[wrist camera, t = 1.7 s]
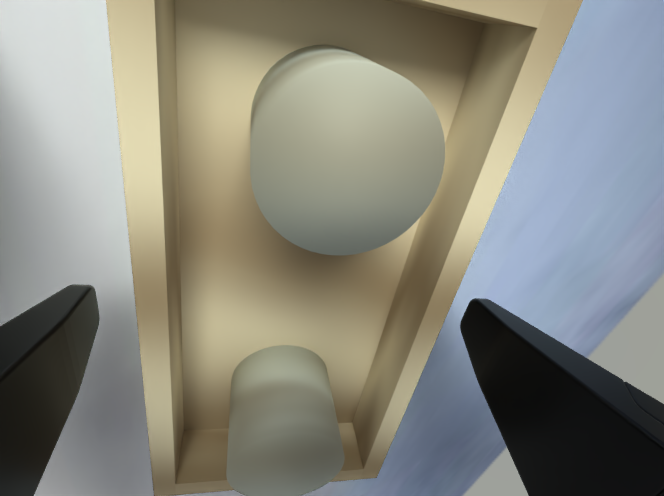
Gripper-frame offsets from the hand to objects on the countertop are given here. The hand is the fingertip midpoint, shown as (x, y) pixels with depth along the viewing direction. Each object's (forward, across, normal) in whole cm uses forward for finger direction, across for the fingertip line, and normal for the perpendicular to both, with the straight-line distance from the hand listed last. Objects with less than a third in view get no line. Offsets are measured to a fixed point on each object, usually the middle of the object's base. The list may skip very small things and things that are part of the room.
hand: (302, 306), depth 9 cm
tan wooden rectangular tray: (+2, 0, 0) cm, 2 cm away
